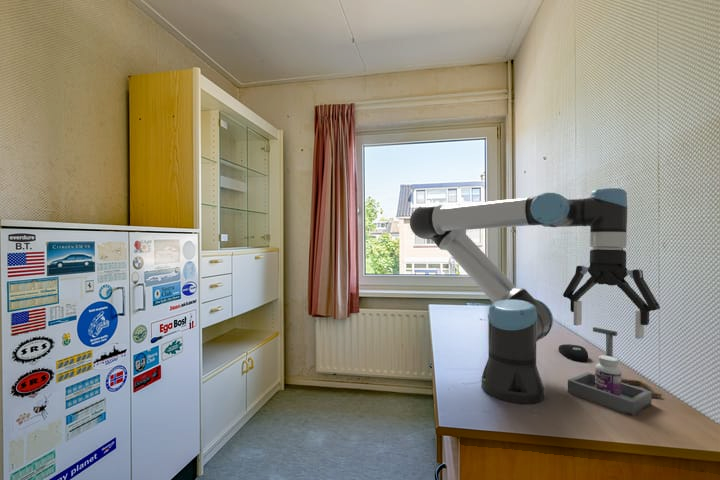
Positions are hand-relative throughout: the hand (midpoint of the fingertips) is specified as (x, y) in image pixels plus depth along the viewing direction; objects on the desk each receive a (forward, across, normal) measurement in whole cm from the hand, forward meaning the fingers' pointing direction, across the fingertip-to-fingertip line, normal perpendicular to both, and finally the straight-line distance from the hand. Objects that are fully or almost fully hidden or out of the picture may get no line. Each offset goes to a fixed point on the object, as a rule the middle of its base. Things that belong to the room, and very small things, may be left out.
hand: (606, 330), depth 83 cm
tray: (+17, 0, 0) cm, 17 cm away
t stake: (+17, +6, -19) cm, 27 cm away
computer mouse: (+18, +20, -27) cm, 38 cm away
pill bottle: (+17, 0, 0) cm, 17 cm away
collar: (+17, -2, -12) cm, 21 cm away
